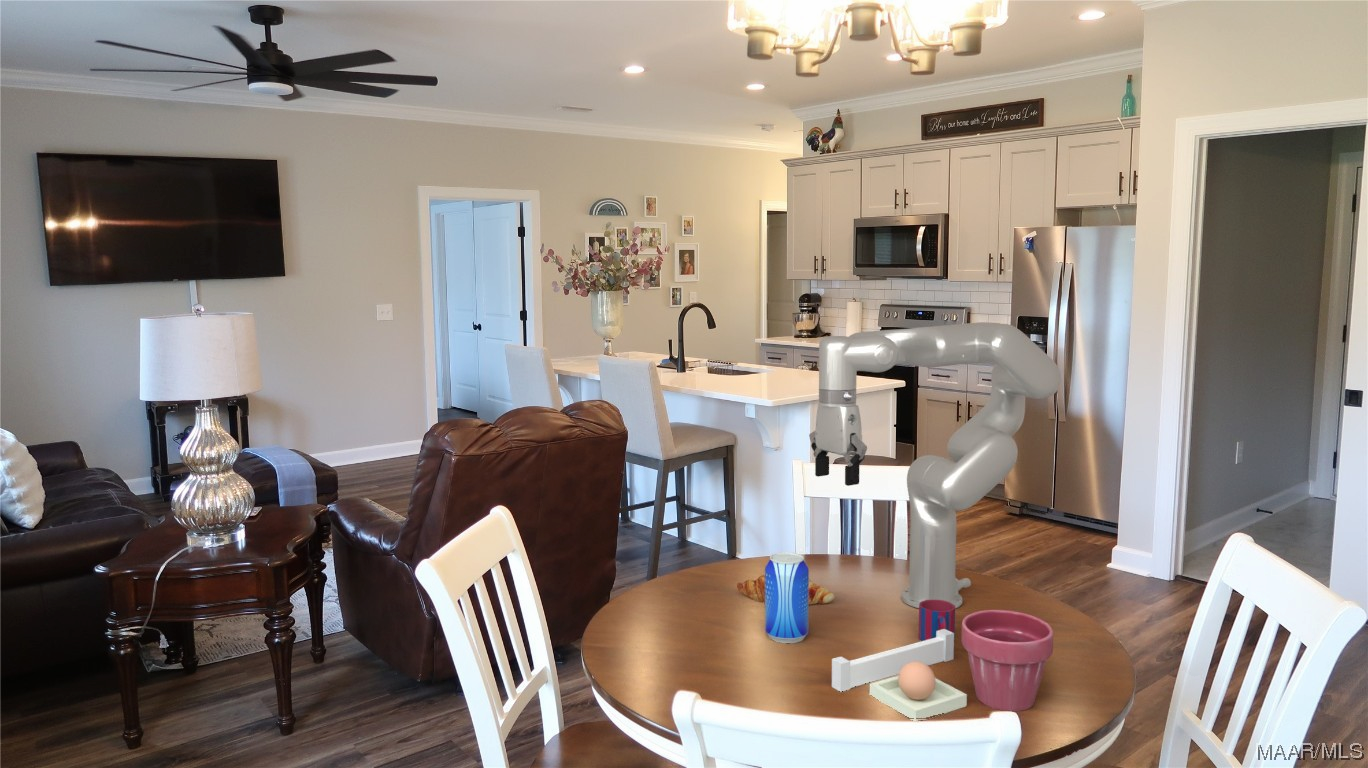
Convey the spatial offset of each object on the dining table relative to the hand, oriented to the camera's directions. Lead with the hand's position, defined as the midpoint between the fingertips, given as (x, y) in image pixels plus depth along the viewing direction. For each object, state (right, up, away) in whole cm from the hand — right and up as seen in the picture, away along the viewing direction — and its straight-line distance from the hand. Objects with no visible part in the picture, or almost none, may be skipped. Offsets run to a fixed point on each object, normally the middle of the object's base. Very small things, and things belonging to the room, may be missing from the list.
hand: (836, 480), depth 187 cm
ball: (+7, -32, -36) cm, 49 cm away
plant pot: (+22, -33, -36) cm, 53 cm away
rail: (+6, -32, -25) cm, 41 cm away
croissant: (-9, -28, +11) cm, 31 cm away
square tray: (+7, -33, -36) cm, 49 cm away
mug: (+17, -30, -12) cm, 37 cm away
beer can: (-11, -30, -9) cm, 33 cm away
